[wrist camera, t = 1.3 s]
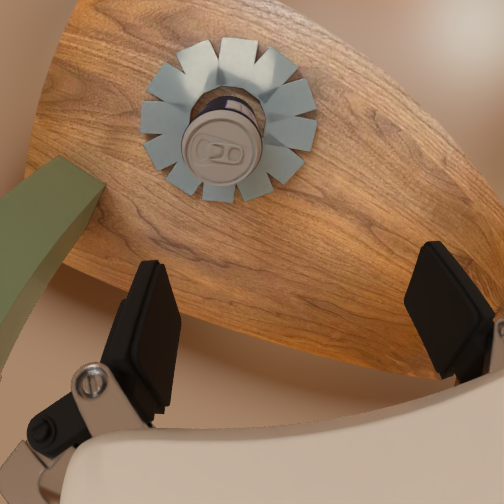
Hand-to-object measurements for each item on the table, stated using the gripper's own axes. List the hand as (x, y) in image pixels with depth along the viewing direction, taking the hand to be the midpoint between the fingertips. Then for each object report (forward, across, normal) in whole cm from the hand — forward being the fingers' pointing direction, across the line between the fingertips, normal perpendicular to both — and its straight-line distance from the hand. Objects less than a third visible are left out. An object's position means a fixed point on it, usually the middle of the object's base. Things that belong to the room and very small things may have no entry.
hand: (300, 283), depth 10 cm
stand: (+23, +24, +4) cm, 34 cm away
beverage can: (+23, +3, -2) cm, 24 cm away
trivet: (+23, +3, -2) cm, 23 cm away
